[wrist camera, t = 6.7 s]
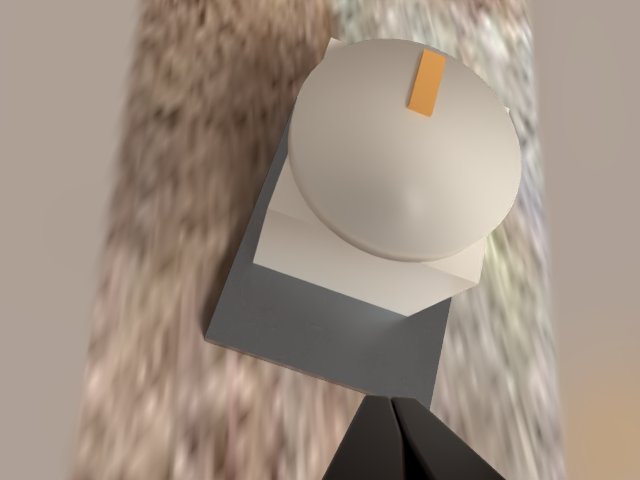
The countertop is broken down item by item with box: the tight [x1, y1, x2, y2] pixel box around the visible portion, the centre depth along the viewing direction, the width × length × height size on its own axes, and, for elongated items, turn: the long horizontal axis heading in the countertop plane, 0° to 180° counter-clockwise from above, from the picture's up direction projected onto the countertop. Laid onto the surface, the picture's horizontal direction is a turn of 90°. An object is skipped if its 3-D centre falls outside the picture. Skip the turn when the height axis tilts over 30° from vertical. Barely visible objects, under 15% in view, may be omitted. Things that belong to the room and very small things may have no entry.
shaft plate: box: [205, 98, 452, 410], centre depth 19 cm, size 12×10×7 cm
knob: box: [253, 38, 522, 316], centre depth 18 cm, size 8×8×7 cm
